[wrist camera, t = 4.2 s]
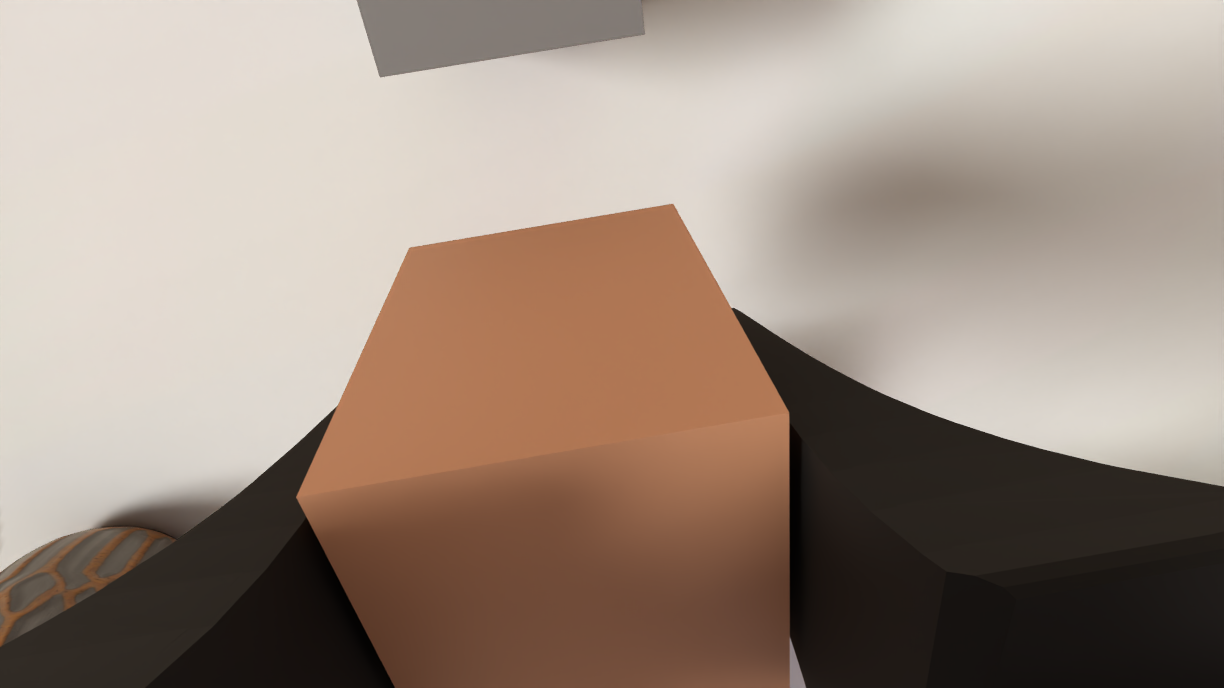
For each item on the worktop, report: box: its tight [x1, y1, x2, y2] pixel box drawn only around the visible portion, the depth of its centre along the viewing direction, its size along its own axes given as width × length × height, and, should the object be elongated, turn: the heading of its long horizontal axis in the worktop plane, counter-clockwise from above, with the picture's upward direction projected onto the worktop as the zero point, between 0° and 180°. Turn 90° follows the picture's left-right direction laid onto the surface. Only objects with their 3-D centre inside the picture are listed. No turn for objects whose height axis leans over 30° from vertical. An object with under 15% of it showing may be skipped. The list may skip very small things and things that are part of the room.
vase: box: [0, 527, 176, 647], centre depth 20 cm, size 7×7×9 cm
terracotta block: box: [296, 204, 790, 688], centre depth 10 cm, size 4×4×6 cm
